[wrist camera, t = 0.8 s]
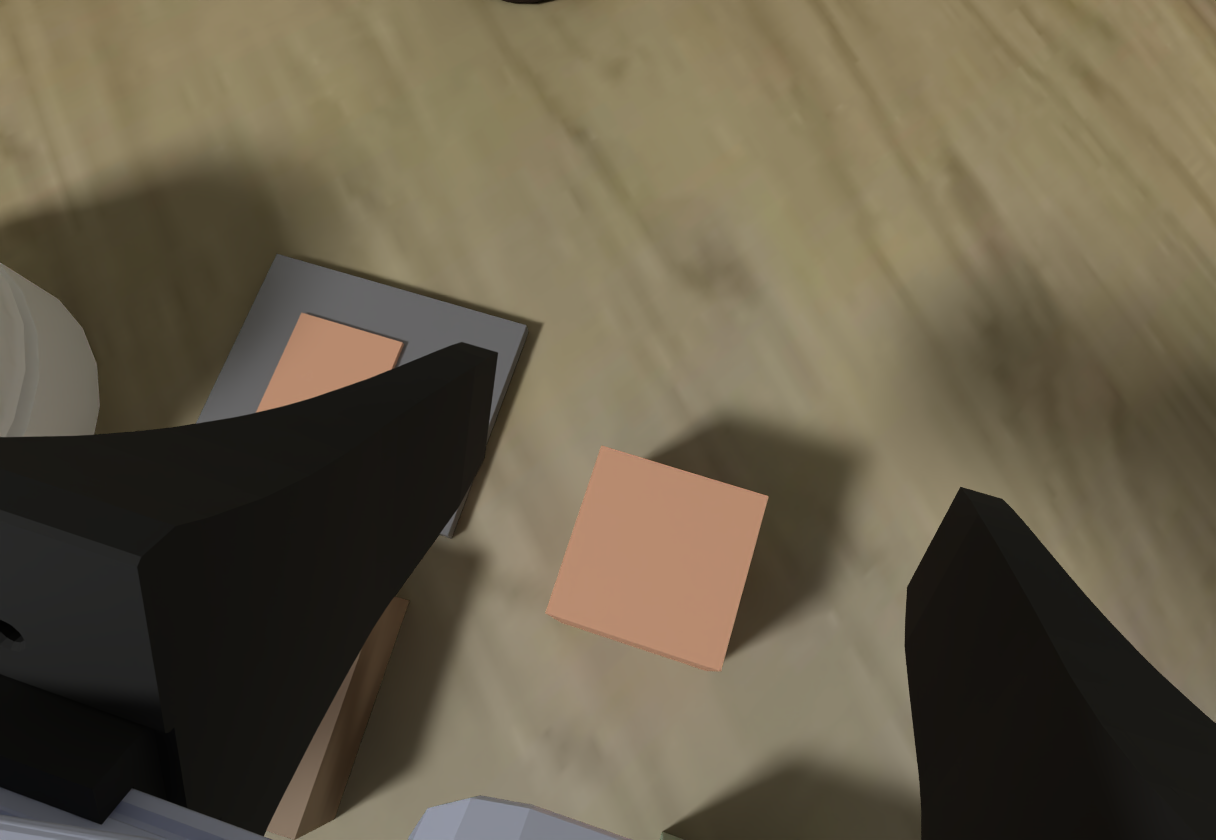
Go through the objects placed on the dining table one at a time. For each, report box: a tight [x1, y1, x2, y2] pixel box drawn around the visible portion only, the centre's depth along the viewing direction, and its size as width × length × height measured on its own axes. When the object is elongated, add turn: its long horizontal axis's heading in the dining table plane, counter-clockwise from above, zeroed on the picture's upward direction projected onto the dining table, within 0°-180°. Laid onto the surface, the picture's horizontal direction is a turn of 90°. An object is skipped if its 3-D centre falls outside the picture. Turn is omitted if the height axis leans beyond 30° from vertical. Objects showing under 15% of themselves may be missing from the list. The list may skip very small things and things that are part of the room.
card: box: [196, 254, 529, 538], centre depth 30 cm, size 8×10×1 cm
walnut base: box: [266, 597, 409, 840], centre depth 26 cm, size 7×7×4 cm
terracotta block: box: [545, 446, 769, 671], centre depth 26 cm, size 5×5×5 cm
